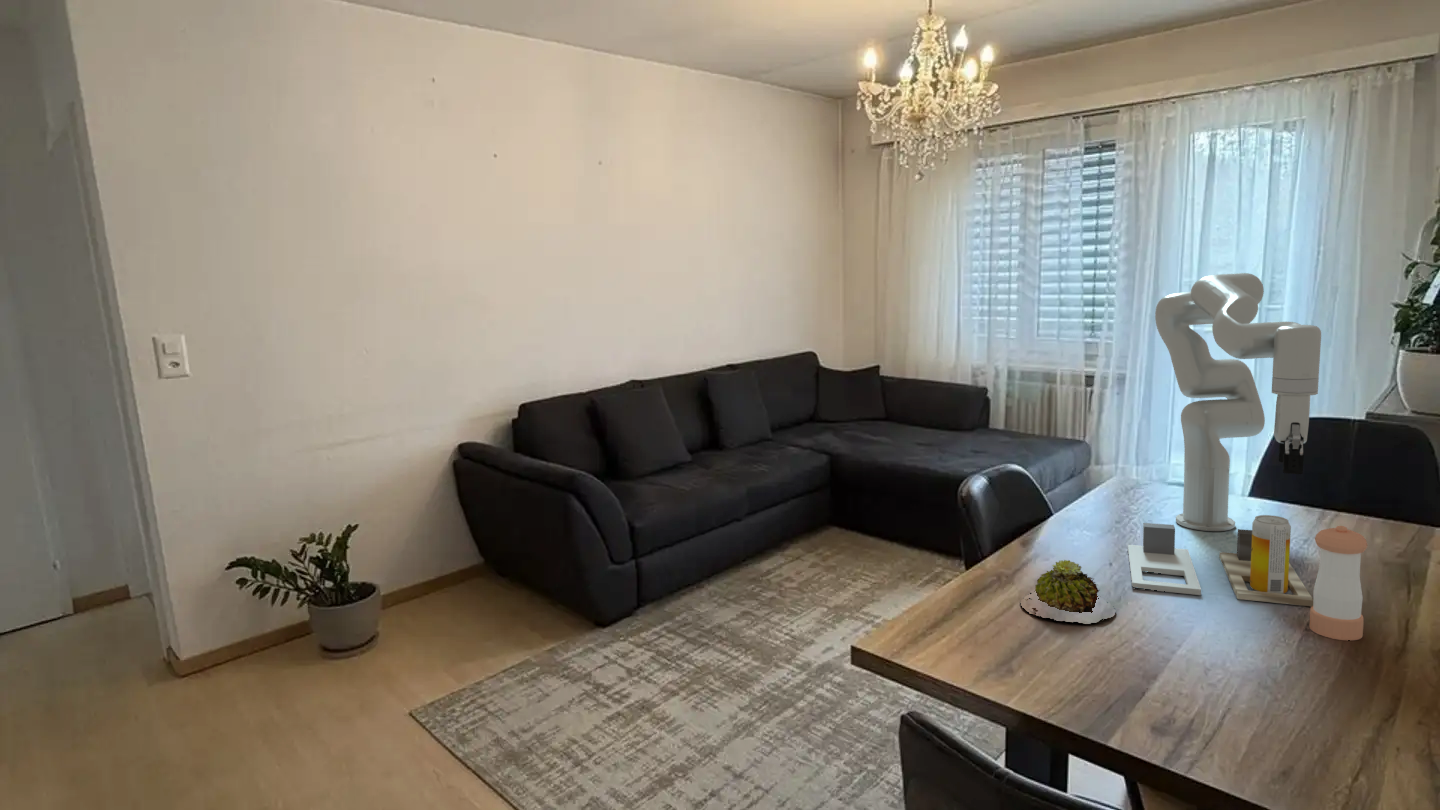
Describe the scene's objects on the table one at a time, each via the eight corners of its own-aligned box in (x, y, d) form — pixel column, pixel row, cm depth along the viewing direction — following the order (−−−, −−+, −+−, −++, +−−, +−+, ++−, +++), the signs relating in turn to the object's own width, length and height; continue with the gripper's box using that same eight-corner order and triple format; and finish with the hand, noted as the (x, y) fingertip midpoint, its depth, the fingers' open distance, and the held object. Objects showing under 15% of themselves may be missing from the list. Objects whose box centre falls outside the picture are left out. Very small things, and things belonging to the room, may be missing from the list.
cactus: (1019, 622, 144) (1019, 574, 143) (1019, 590, 159) (1019, 546, 157) (1121, 632, 138) (1121, 581, 136) (1111, 597, 152) (1112, 551, 151)
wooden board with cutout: (1219, 557, 168) (1220, 526, 167) (1285, 562, 163) (1286, 530, 162) (1237, 598, 147) (1238, 563, 146) (1313, 606, 142) (1315, 570, 141)
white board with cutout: (1127, 549, 176) (1128, 519, 175) (1187, 554, 171) (1188, 523, 170) (1132, 588, 155) (1132, 554, 154) (1201, 595, 150) (1202, 560, 149)
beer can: (1275, 585, 152) (1278, 513, 150) (1294, 597, 146) (1298, 523, 144) (1243, 586, 153) (1246, 515, 151) (1261, 598, 147) (1264, 524, 145)
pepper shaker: (1349, 644, 128) (1356, 536, 125) (1300, 629, 134) (1306, 525, 131) (1371, 633, 131) (1378, 527, 128) (1322, 618, 137) (1327, 517, 135)
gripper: (1268, 379, 163) (1265, 457, 165) (1275, 392, 148) (1271, 476, 151) (1312, 380, 159) (1308, 459, 161) (1323, 393, 144) (1318, 479, 147)
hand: (1290, 467), depth 156 cm, fingers open, 9 cm apart
